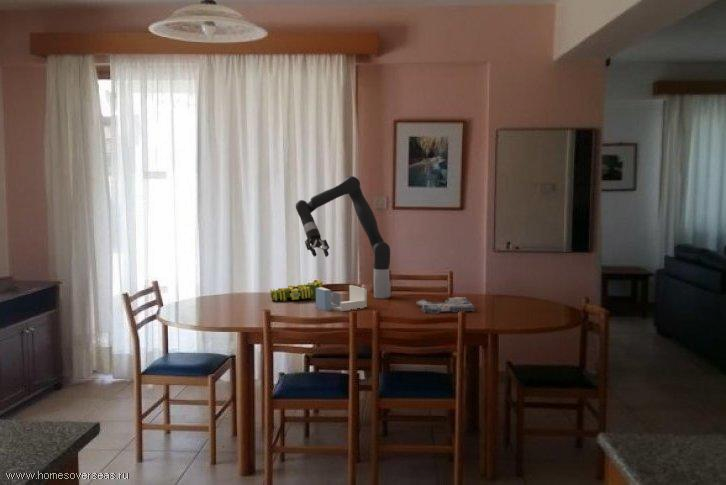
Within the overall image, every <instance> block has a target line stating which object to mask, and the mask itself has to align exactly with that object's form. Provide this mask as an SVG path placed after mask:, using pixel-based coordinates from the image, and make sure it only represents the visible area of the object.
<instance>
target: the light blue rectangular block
mask: <svg viewBox="0 0 726 485" xmlns="http://www.w3.org/2000/svg"><path fill="white" fill-rule="evenodd" d="M331 303H332V289H328V288H326V287H320V288H316V299H315V309H319V310H322V311H324V312H326V311H332V308H331Z"/></svg>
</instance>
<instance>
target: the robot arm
mask: <svg viewBox="0 0 726 485" xmlns="http://www.w3.org/2000/svg"><path fill="white" fill-rule="evenodd" d="M362 191H363V190H362V188H361V181H360V179H358V178H357V176H356V177H355V176H354V175H353V176H352V175H349V176H347V177H346V178H345V179H344V180H343V181H342V182H341V183H340V184H338V185H336V186H335V187H331V188H330V189H326V190H324V191H322V192H319V193H318V194H316V195H313V196H311V198H310V200H309V201H308V202H307V201H306V200H303V199H300V200H298V201H296V203H295V210H296V212H297V214H298V216H299V218H300V222H301V223H302V227H303V231H304V233H305V235H306V239H305V240H304V244H305V246H306V250H307V251H310V252H311V254H312V256H313V257H314V258H315V257H316V256H317V255H318V254H317V252H316V248H318V249H320V250H322V251H323V255H324V257H326V258H328V257H329V251H328V250H329V249H330V246H329V244H328V242H327V240H326V239H321V233H320V230H319V229H318V225H317V224H316V221H315V219H314V216H313V215H312V213H313V212H314V211H315V210H317V209H318V208H320V207H322V206H324V205H326V204H328V203H330V202H332V201H334V200H336V199H338V198H340V197H343V196H345V195H348V196H349V197H350V199H351V201H352V205H353V207H354V210H355V213H356V216H357V218H358V220H359V223H360V225H361V227H362V228H363V231H364V232H365V234H366V236H367V238H368V240H369V243H370V246H371V249H372V252H373V254H374V263H373V298H375V299H389V298H391V296H392V295H391V293H392V292H391V289H392V286H391V285H392V284H391V280H390V264H391V248H390V245H389V244H388V243H387V242H385V241H384V238H383V237H382V235H381V232H380V231H379V227H378V223H377V219H376V216H375V214H374V211H373V209H372V207H371V206H370V204H369V202H368V201H367V200H366V198H365V196H364V194H363V192H362Z"/></svg>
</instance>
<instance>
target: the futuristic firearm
mask: <svg viewBox="0 0 726 485" xmlns="http://www.w3.org/2000/svg"><path fill="white" fill-rule="evenodd" d="M415 304H416V305H418V306H419V307H420V306H421V308H420V310H421V311H422V313H424V314H431V315H432V314H440V313H443V312H444V313H445V312H452V313H459V312H458V311H461V310H463V311H462V312H475V306H474V305H473V303H471V301H469V300H467V298H466V297H465V296H463V297H462V296H461V297H460V296H455V297H447V299H445V302H439V301H438V302H431V301H427V299H426V298H423V299H420V300H418V299H417V301H416V302H415Z"/></svg>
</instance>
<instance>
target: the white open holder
mask: <svg viewBox="0 0 726 485" xmlns="http://www.w3.org/2000/svg"><path fill="white" fill-rule="evenodd" d="M348 288H349V290H348V291H349V300H346V301H345V300H344V301H341V300H342V299H341V293H339V292H335V291H332V302H331V309H335V310H338V311H341V312H344V311H353V309H354V310H358V309H357V308H360V309H365V308H364V307H367V308H368V302H367V301H368V299H367V298H368V295H367V294H368V292H367V291H368V290H367V288H365V287H364V288H363V287H359V286H357V285H353V284H350V285H349V286H348ZM351 309H352V310H351Z"/></svg>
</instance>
